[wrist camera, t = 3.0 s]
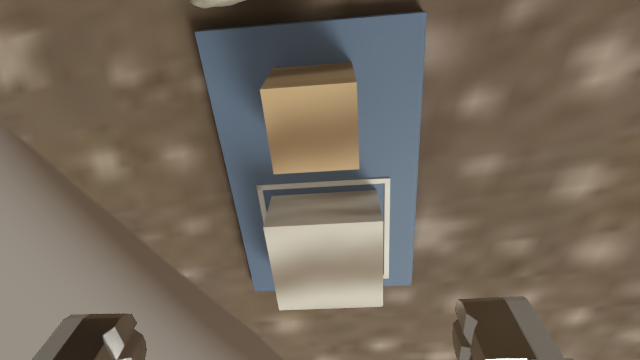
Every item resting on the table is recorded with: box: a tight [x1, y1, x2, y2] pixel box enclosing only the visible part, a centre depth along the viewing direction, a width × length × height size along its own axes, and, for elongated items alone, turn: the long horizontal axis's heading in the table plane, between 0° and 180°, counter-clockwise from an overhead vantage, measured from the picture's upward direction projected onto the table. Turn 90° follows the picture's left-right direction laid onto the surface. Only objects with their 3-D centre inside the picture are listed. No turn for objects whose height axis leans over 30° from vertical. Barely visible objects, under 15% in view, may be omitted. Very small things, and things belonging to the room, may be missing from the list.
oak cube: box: [260, 62, 359, 174], centre depth 22 cm, size 5×5×5 cm
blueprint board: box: [195, 11, 427, 291], centre depth 28 cm, size 22×14×1 cm, turn 5°
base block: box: [263, 190, 383, 310], centre depth 28 cm, size 8×8×4 cm
